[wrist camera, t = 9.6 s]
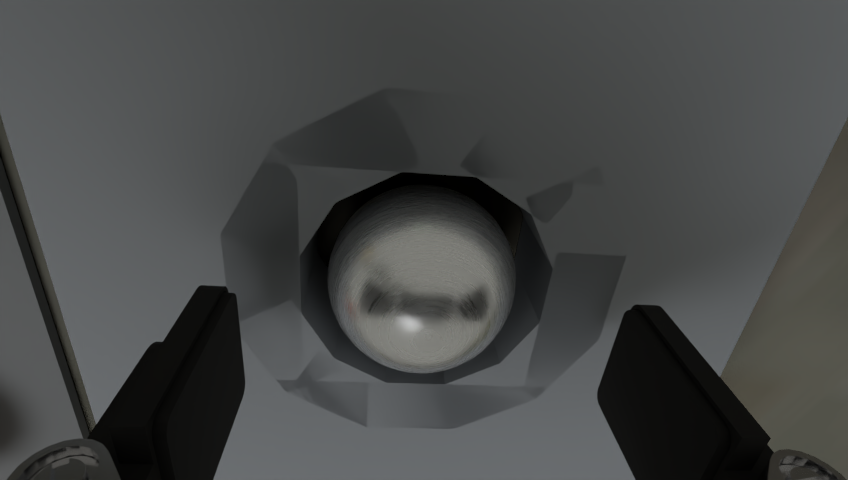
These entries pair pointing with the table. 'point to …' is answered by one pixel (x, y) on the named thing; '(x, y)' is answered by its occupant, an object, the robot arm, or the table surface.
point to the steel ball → (421, 278)
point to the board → (416, 153)
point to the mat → (29, 353)
